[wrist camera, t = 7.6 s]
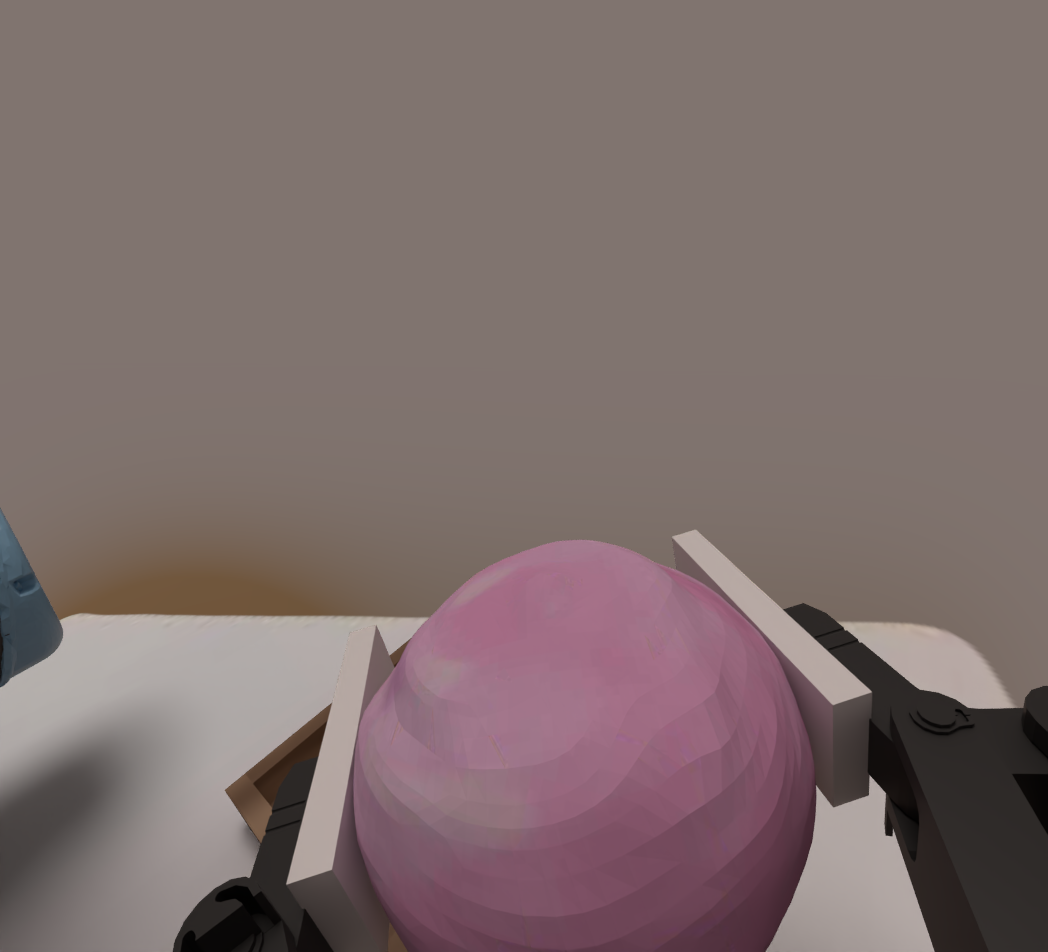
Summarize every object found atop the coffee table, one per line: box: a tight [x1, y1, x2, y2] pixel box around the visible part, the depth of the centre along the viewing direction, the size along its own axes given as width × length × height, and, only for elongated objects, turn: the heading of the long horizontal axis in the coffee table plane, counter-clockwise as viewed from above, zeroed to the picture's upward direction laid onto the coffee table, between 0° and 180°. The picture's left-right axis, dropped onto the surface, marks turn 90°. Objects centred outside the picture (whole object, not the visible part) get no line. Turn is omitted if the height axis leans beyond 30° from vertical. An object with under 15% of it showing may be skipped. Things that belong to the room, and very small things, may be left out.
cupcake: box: [353, 540, 816, 952], centre depth 11 cm, size 9×9×10 cm
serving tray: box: [225, 639, 411, 952], centre depth 30 cm, size 16×16×3 cm
